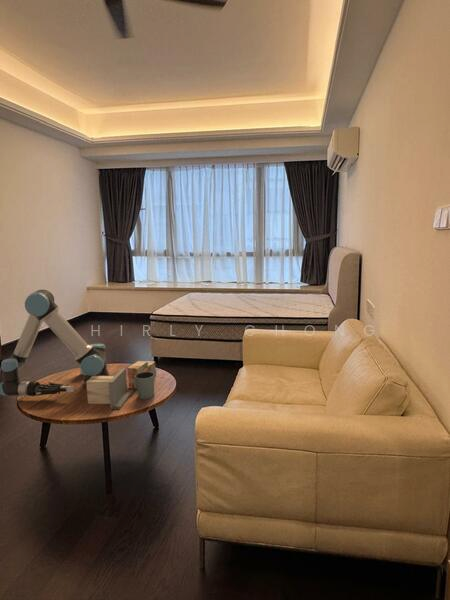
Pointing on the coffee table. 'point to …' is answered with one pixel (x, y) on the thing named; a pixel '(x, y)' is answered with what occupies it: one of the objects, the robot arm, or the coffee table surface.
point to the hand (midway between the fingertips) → (73, 389)
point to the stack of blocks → (139, 371)
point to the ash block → (98, 389)
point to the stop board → (119, 390)
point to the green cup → (145, 384)
